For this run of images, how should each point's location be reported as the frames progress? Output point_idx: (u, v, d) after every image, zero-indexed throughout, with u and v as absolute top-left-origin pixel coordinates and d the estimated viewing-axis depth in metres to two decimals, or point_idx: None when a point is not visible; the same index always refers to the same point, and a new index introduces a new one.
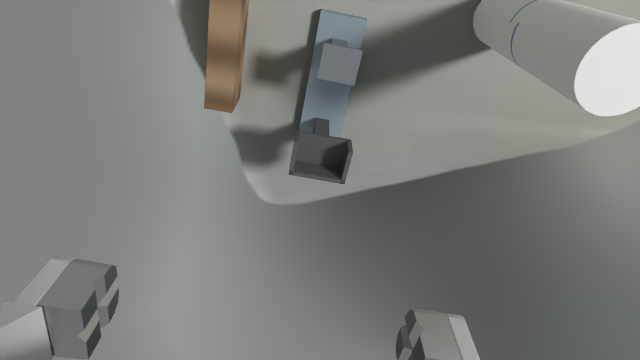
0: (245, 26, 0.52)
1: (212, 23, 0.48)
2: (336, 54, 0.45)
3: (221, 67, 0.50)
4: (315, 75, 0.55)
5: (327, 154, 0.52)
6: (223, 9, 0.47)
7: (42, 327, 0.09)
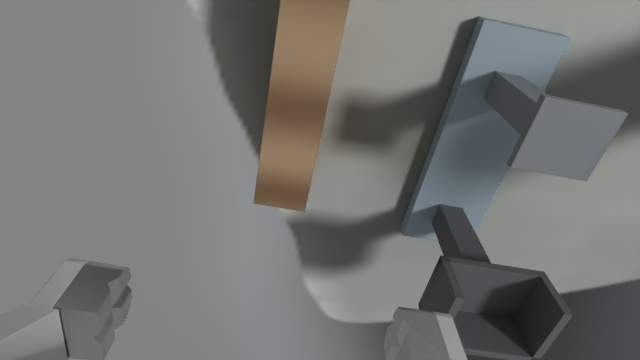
0: None
1: (283, 49, 0.23)
2: (567, 120, 0.20)
3: (293, 133, 0.25)
4: (452, 136, 0.30)
5: (494, 297, 0.27)
6: (309, 21, 0.22)
7: (58, 329, 0.09)
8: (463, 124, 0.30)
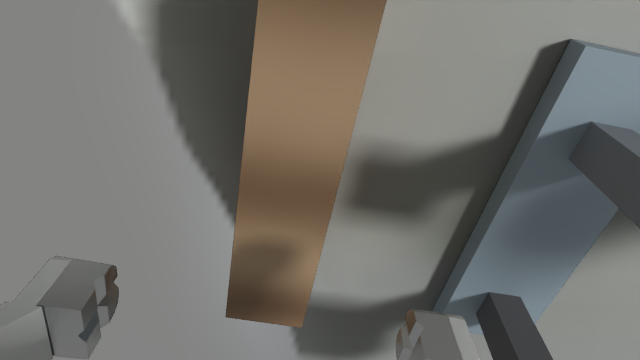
0: None
1: (263, 105, 0.13)
2: None
3: (282, 228, 0.16)
4: (515, 209, 0.21)
5: None
6: (307, 59, 0.12)
7: (42, 327, 0.09)
8: (534, 193, 0.20)
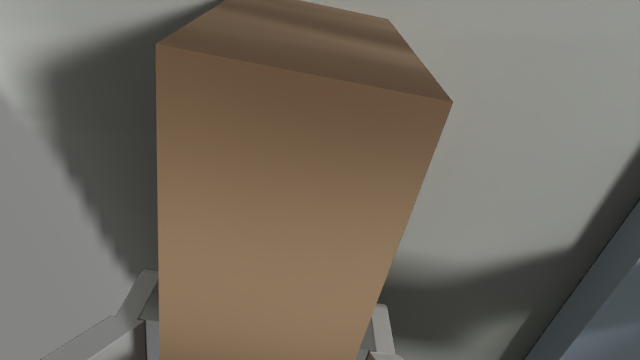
0: None
1: (190, 304, 0.07)
2: None
3: None
4: (591, 350, 0.15)
5: None
6: (271, 234, 0.06)
7: (142, 340, 0.09)
8: (621, 331, 0.14)
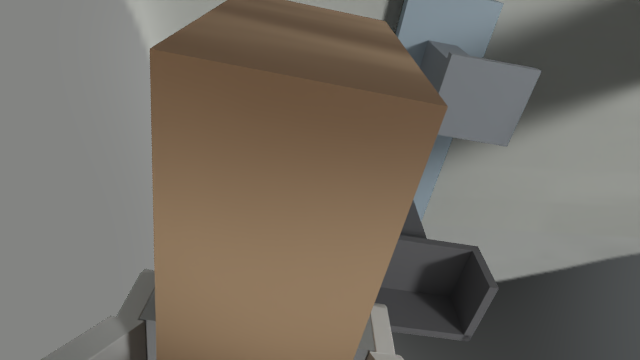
0: None
1: (185, 308, 0.07)
2: (478, 80, 0.19)
3: None
4: None
5: (428, 274, 0.26)
6: (267, 238, 0.06)
7: (142, 340, 0.09)
8: None
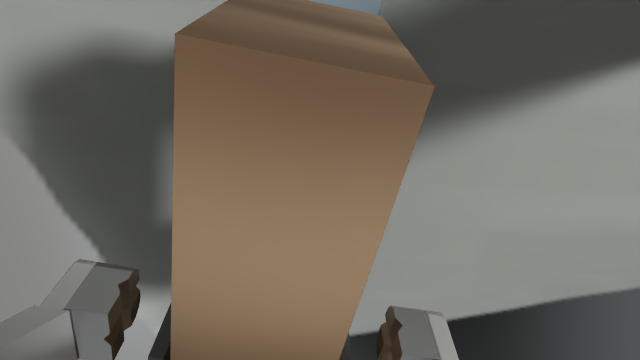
0: None
1: (199, 273, 0.08)
2: None
3: None
4: None
5: None
6: (275, 207, 0.07)
7: (69, 331, 0.09)
8: None
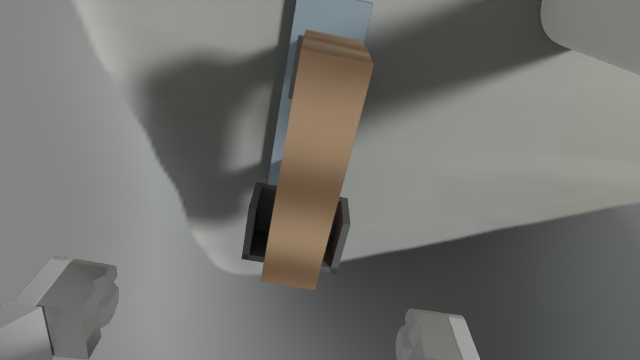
0: None
1: (296, 132, 0.21)
2: None
3: (304, 214, 0.24)
4: None
5: None
6: (325, 105, 0.21)
7: (42, 327, 0.09)
8: None
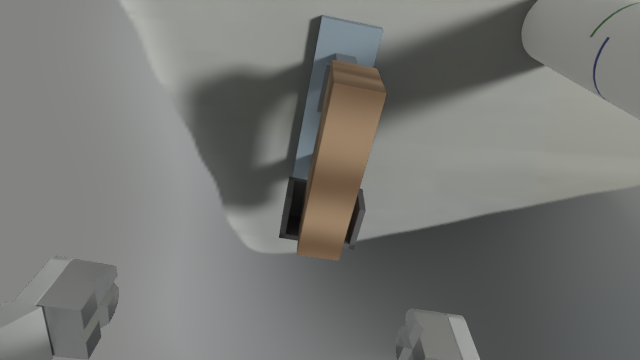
0: None
1: (328, 142, 0.29)
2: None
3: (332, 202, 0.31)
4: (314, 100, 0.43)
5: None
6: (350, 122, 0.28)
7: (42, 327, 0.09)
8: (321, 91, 0.42)
